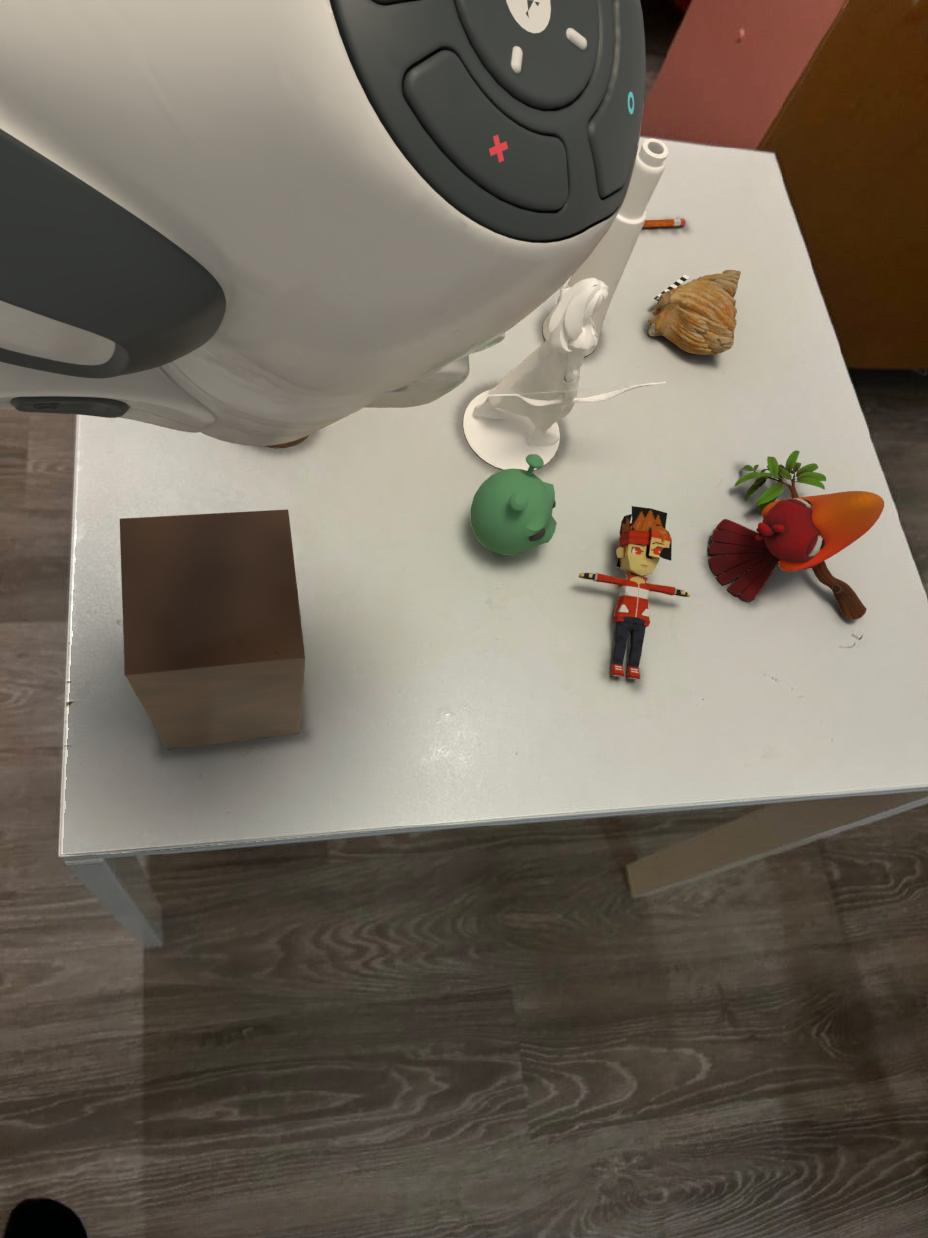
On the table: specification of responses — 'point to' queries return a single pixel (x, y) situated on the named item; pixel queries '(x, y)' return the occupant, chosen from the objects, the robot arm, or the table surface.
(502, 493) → the alien toy
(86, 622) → the table surface
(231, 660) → the stand
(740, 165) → the table surface
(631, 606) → the toy
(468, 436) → the female figurine
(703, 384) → the table surface
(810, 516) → the bird figurine
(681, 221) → the pencil
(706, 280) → the fossil
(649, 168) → the cosmetic bottle
